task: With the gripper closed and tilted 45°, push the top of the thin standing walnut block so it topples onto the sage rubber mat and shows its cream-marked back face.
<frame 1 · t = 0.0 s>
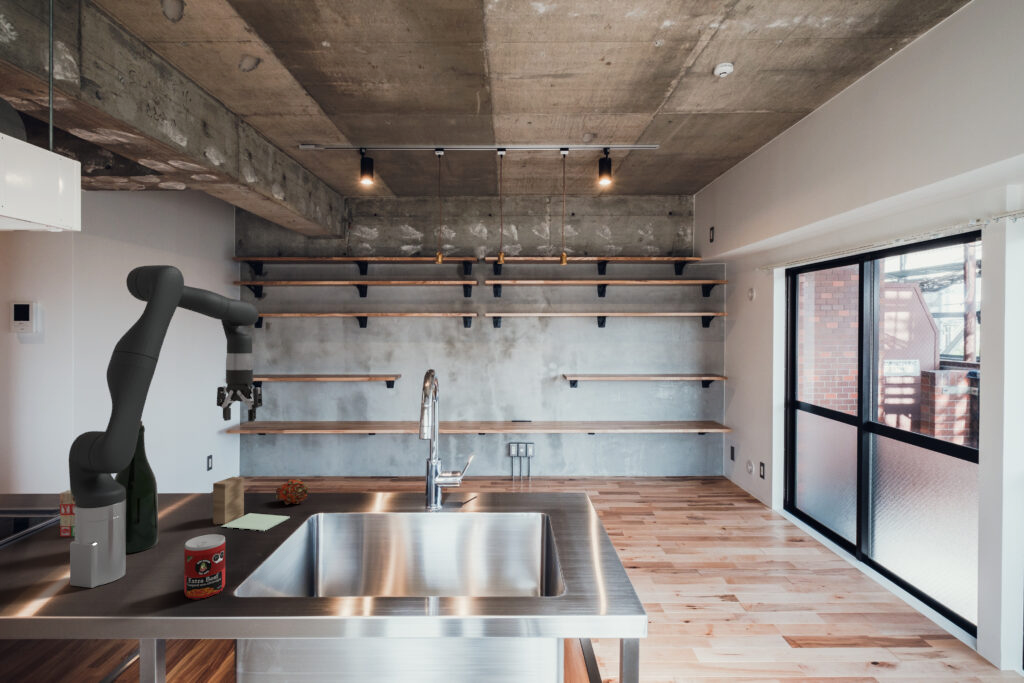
hand: (239, 420, 168), 29 cm above the worktop, tool pointing down, fingers open, 8 cm apart
stack of blocks: (100, 524, 161), on the worktop
mat: (256, 522, 162), on the worktop
dragon fruit: (291, 503, 181), on the worktop
canned food: (205, 592, 118), on the worktop
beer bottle: (134, 548, 142), on the worktop
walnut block: (228, 520, 164), on the worktop
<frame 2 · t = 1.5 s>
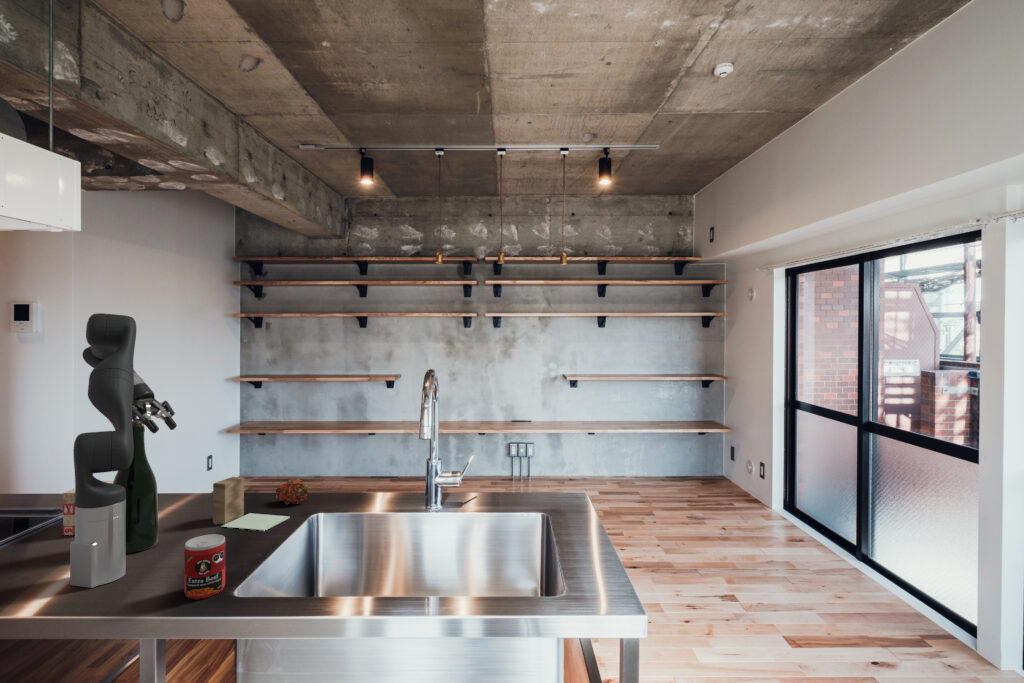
hand: (165, 429, 169), 26 cm above the worktop, tool tilted 45°, fingers open, 6 cm apart
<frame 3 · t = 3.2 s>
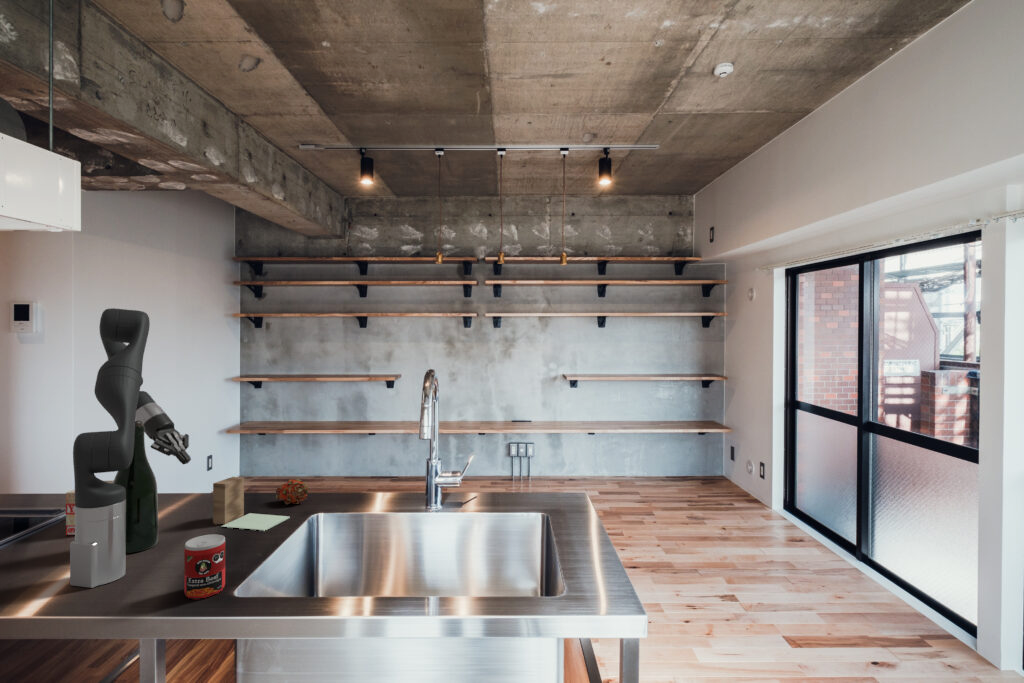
hand: (187, 462, 167), 17 cm above the worktop, tool tilted 45°, fingers closed
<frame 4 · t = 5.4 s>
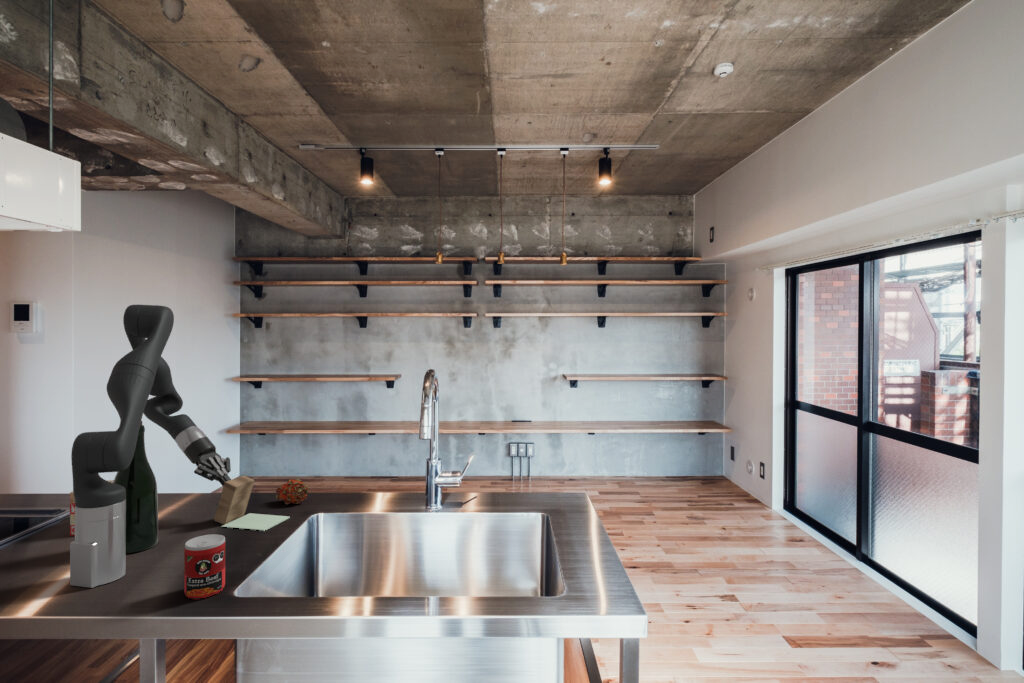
hand: (230, 486, 164), 10 cm above the worktop, tool tilted 45°, fingers closed
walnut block: (229, 518, 164), point 1 cm above the worktop, tilted 18°, touching gripper
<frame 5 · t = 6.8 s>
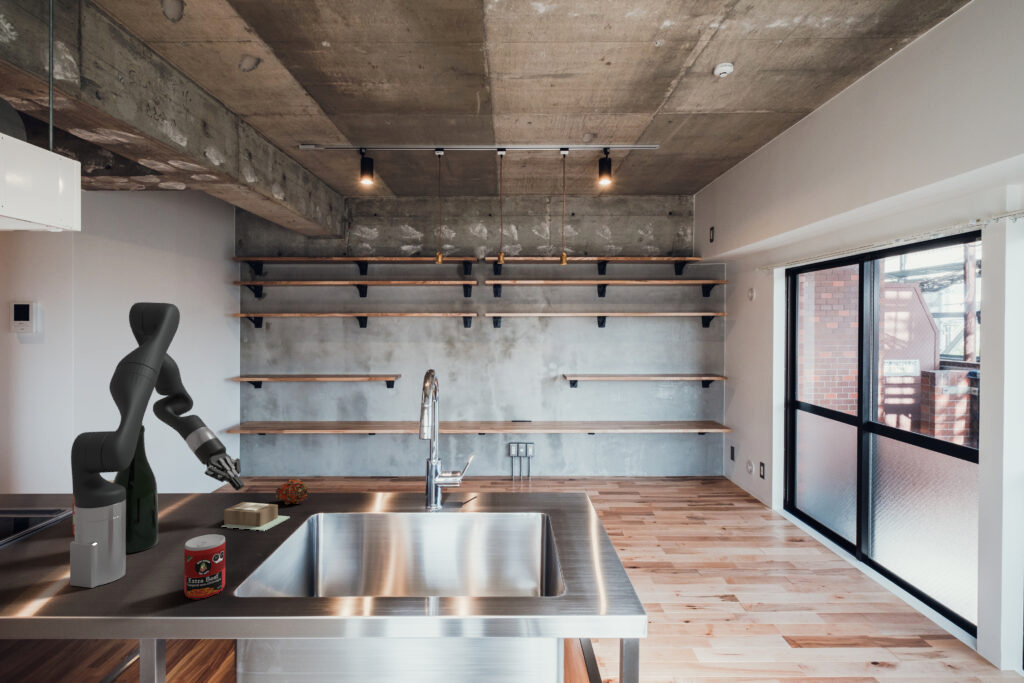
hand: (240, 488, 163), 10 cm above the worktop, tool tilted 45°, fingers closed
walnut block: (233, 512, 164), point 2 cm above the worktop, tilted 90°, touching mat
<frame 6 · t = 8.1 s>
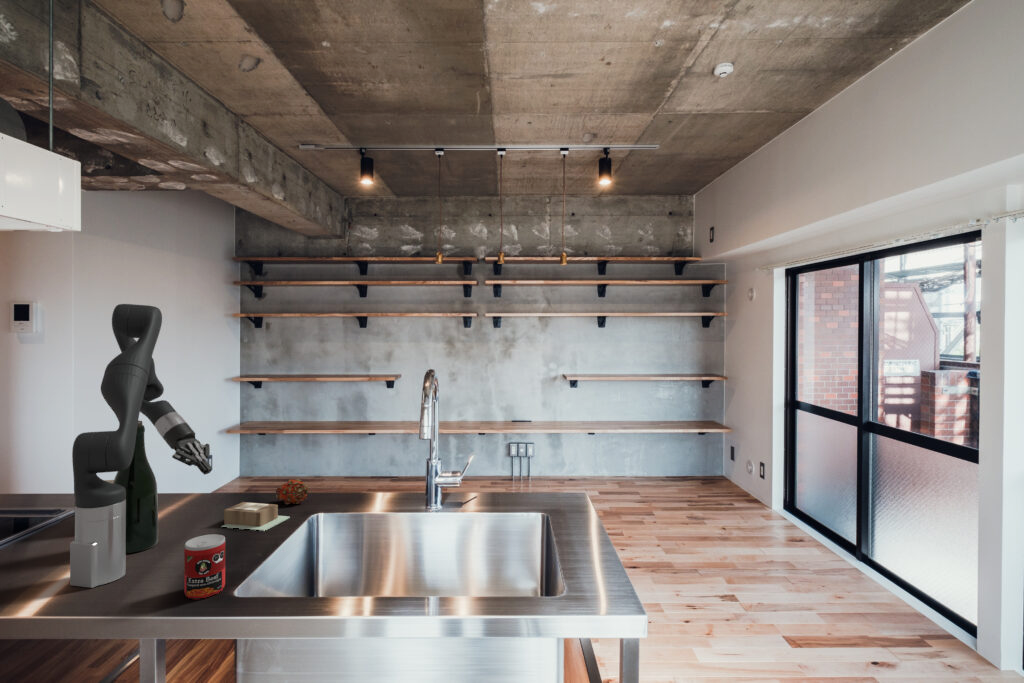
hand: (208, 472, 165), 14 cm above the worktop, tool tilted 45°, fingers closed
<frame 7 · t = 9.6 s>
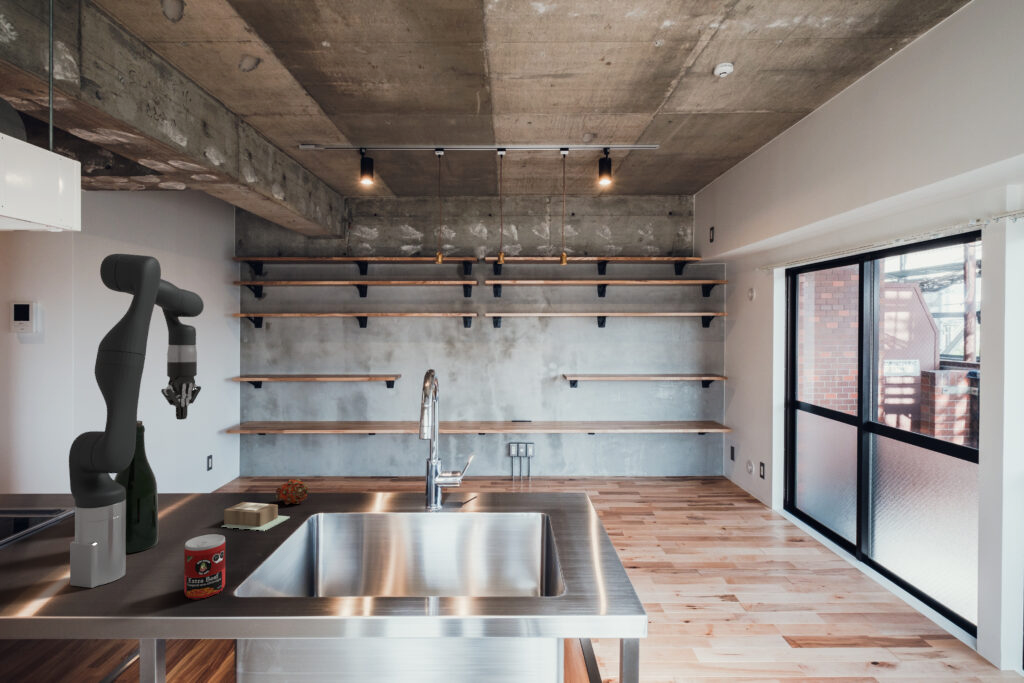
hand: (181, 419, 161), 31 cm above the worktop, tool pointing down, fingers closed
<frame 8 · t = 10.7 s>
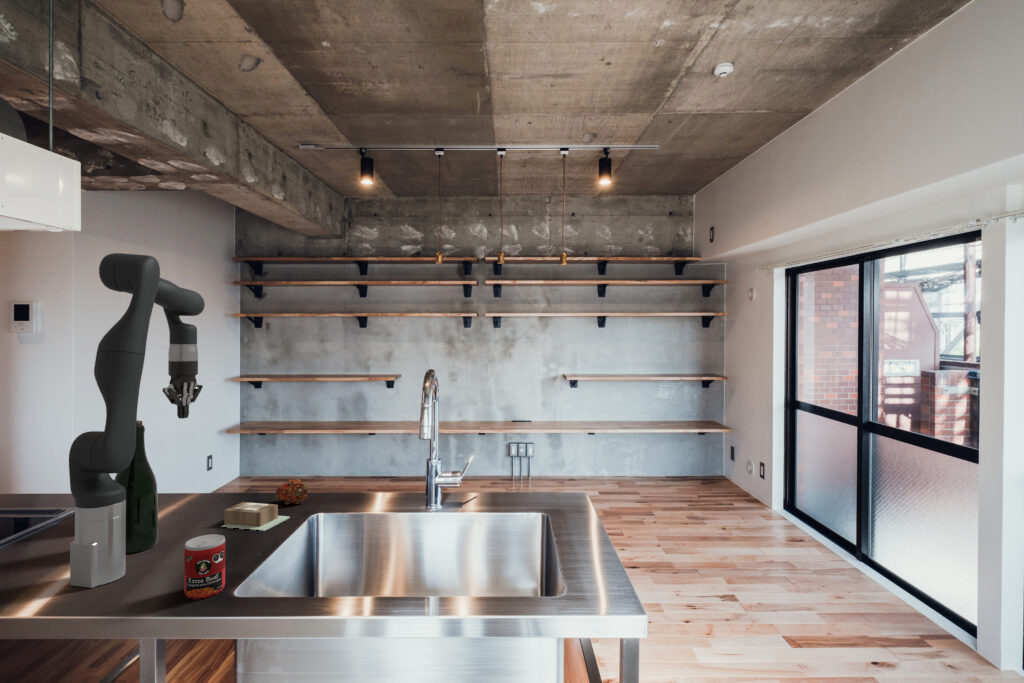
hand: (183, 418, 161), 31 cm above the worktop, tool pointing down, fingers closed
at the end: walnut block tilted 90°; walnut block touching mat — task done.
